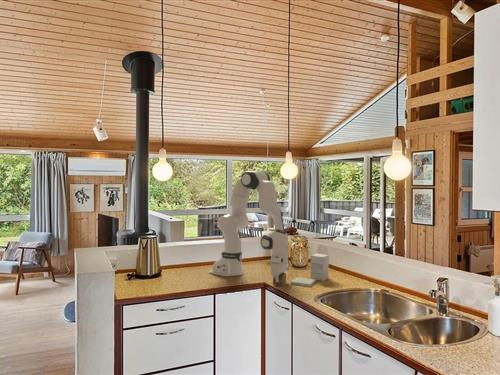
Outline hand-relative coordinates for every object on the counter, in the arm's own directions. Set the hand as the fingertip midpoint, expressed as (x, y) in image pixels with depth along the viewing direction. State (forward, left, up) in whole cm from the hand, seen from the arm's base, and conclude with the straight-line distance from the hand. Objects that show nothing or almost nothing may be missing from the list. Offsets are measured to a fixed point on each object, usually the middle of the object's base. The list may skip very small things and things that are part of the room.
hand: (279, 280), depth 234 cm
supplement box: (+18, +24, -2) cm, 30 cm away
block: (0, 0, -2) cm, 2 cm away
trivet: (+12, +9, -2) cm, 15 cm away
